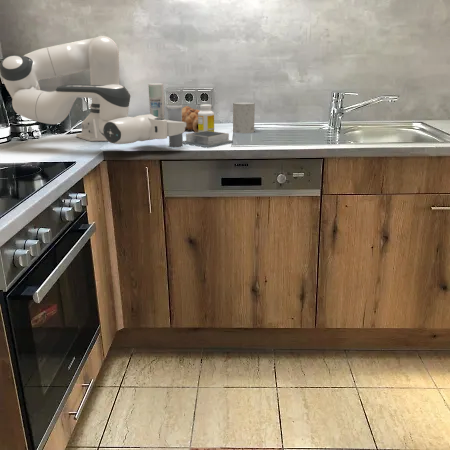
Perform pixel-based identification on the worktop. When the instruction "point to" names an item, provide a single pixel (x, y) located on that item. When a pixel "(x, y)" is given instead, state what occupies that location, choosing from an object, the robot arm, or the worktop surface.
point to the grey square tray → (207, 139)
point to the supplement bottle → (205, 118)
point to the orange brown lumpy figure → (190, 118)
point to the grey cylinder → (243, 117)
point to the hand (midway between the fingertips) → (176, 123)
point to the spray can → (156, 100)
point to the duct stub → (175, 115)
